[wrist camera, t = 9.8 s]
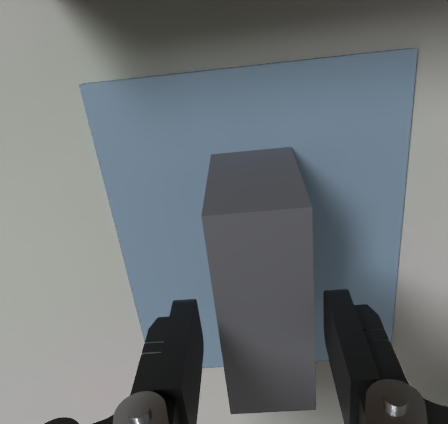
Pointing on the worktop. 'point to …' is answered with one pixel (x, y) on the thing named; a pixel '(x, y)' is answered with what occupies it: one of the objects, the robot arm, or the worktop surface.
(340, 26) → the worktop surface
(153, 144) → the cover plate
